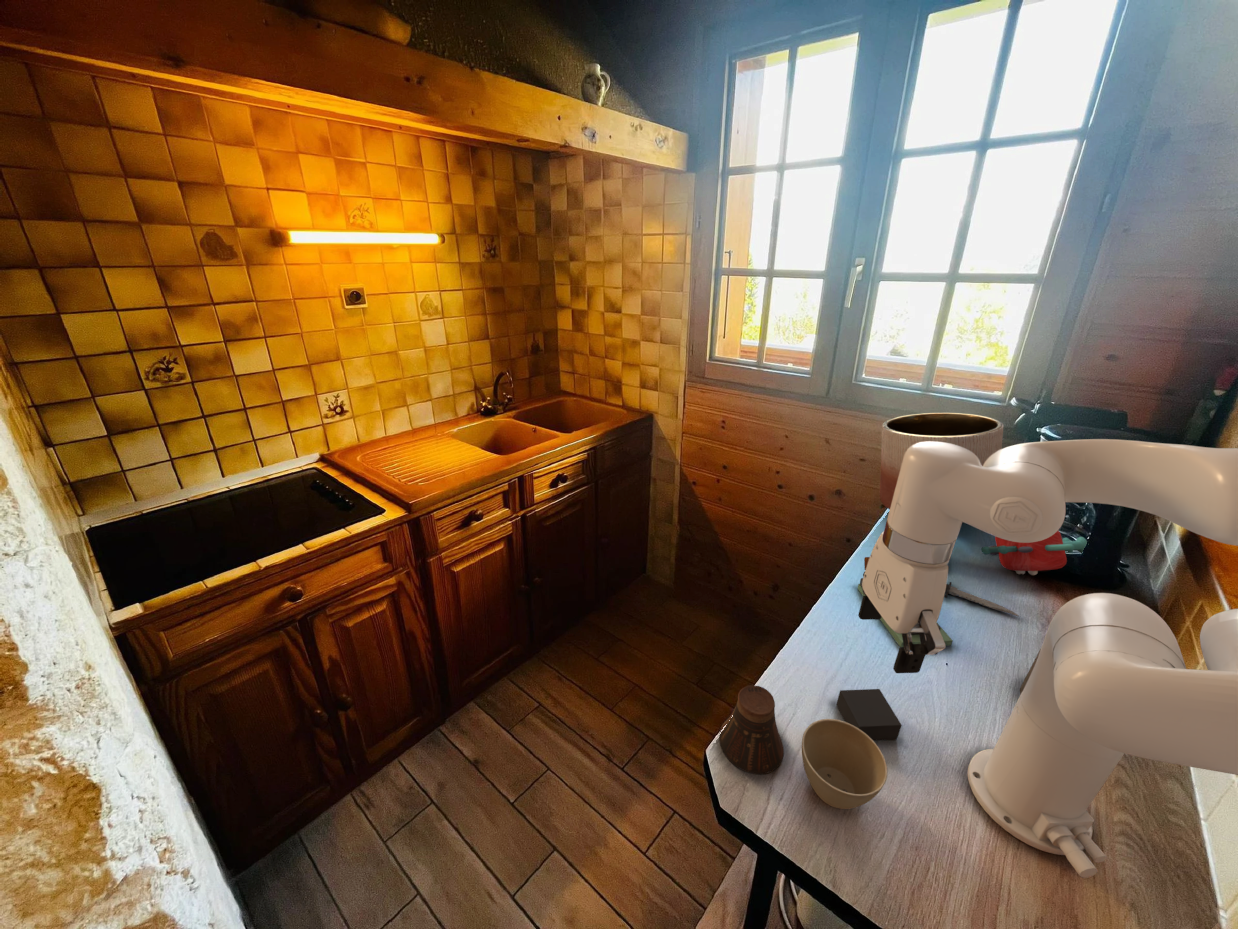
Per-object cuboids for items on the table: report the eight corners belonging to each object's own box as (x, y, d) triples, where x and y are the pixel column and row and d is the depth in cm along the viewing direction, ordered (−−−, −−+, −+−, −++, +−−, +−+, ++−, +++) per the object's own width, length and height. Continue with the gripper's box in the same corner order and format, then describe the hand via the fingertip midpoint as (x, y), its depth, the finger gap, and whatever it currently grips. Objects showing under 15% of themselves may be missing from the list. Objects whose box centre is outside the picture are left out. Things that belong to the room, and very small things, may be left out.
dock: (951, 645, 87) (955, 634, 86) (900, 647, 87) (904, 636, 86) (900, 587, 101) (903, 576, 100) (857, 588, 101) (859, 577, 100)
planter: (906, 483, 144) (908, 409, 137) (1012, 501, 124) (1021, 416, 117) (861, 511, 130) (862, 430, 123) (972, 536, 110) (980, 442, 103)
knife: (1022, 605, 94) (1020, 619, 91) (1018, 612, 95) (1016, 627, 91) (911, 564, 105) (905, 576, 102) (908, 572, 106) (903, 583, 102)
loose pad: (896, 740, 71) (902, 725, 70) (854, 741, 71) (859, 727, 69) (874, 703, 77) (879, 688, 75) (836, 704, 76) (839, 690, 75)
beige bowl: (780, 788, 65) (787, 754, 62) (814, 739, 71) (823, 705, 68) (856, 850, 58) (868, 814, 55) (886, 789, 65) (899, 754, 62)
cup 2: (814, 715, 65) (794, 757, 70) (763, 664, 71) (748, 706, 76) (769, 749, 60) (751, 791, 66) (719, 692, 67) (706, 734, 72)
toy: (1046, 570, 112) (963, 577, 111) (1036, 526, 114) (954, 532, 113) (1127, 572, 95) (1030, 580, 94) (1113, 520, 97) (1018, 527, 96)
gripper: (855, 505, 68) (833, 601, 76) (929, 586, 53) (892, 697, 60) (908, 504, 68) (881, 600, 76) (997, 584, 53) (952, 695, 60)
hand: (886, 642), depth 68 cm, fingers open, 9 cm apart
